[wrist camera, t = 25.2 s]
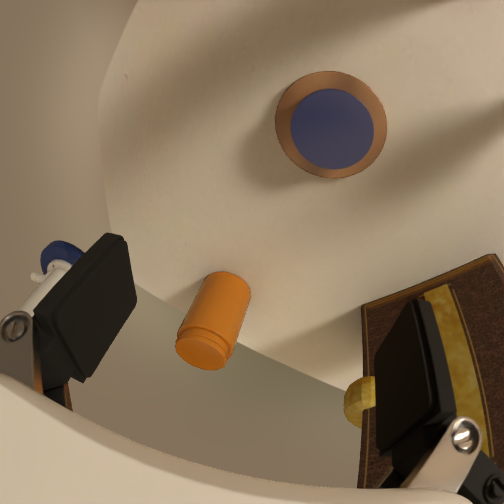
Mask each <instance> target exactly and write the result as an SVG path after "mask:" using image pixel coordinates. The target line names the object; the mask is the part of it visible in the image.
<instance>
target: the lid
mask: <svg viewBox="0 0 504 504" xmlns="http://www.w3.org/2000/svg"><path fill="white" fill-rule="evenodd" d="M291 135H292V139H293V142H294V144H295V146H296V148H297V149H298V151H299V152H300V153H301V155H302V156H303V157H304V158H305V159H307V160H308V161H309V162H311V163H313V164H314V165H317V166H319V167H322V168H326V169H343V168H347V167H350V166H352V165H354V164H356V163H357V162H359V161H360V160H361V159H362V158H363V157H364V156H365V155H366V154H367V152H368V151H369V149H370V147H371V145H372V142H373V137H374V126H373V121H372V118H371V115H370V113H369V112H368V110H367V108H366V107H365V106H364V104H363V103H362V102H361V101H360V100H358V99H357V98H356V97H354V96H353V95H351V94H350V93H348V92H345V91H343V90H339V89H332V88H327V89H321V90H317V91H315V92H312V93H311V94H309V95H307V96H306V97H305V98H304V99H303V100H302V101H301V102H300V103H299V105H298V106H297V107H296V109H295V111H294V113H293V116H292V120H291Z"/></svg>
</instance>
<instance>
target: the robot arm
mask: <svg viewBox="0 0 504 504" xmlns="http://www.w3.org/2000/svg"><path fill="white" fill-rule="evenodd" d="M31 279H32V281H34V282H36V283H39V284H40V285H39V286H38V287H37V288H36V289H35V290H34V291H33V293H32V294H31V295H30V296H29V297H28V298H27V299H26V300H25V301H24V303H23V304H22V305H21V306H20V307H19V308H18V310H17V311H14V312H12V313H10V314H8V315H7V316H5V317H4V318H3V319H2V320H1V322H0V504H504V472H503V471H502V470H501V469H500V468H499V467H498V466H497V465H496V464H495V463H494V462H493V461H492V460H491V459H490V458H489V457H488V456H487V455H486V454H485V453H484V452H483V451H482V450H481V446H482V438H483V437H482V432H481V429H480V427H479V425H478V424H477V423H476V422H475V420H473V419H472V418H470V417H467V416H460V417H457V413H456V412H457V408H456V402H455V397H454V391H453V386H452V381H451V376H450V372H449V367H448V363H447V358H446V354H445V350H444V346H443V343H442V339H441V335H440V331H439V328H438V324H437V321H436V318H435V314H434V311H433V308H432V305H431V303H430V302H429V301H425V300H420V299H413V300H412V301H411V302H407V303H406V304H405V306H404V308H403V309H402V311H401V313H400V315H399V316H398V318H397V320H396V321H395V323H394V325H393V326H392V328H391V329H390V331H389V333H388V334H387V336H386V337H385V339H384V341H383V342H382V344H381V345H380V347H379V348H378V350H377V351H376V353H375V357H374V375H375V401H376V448H377V449H379V457H392V466H391V467H390V468H389V469H388V470H387V472H386V473H385V474H384V475H383V476H382V477H381V478H380V479H379V481H378V482H377V483H376V484H375V485H374V486H373V487H372V488H371V489H358V488H335V487H321V486H309V485H300V484H291V483H285V482H278V481H271V480H266V479H260V478H255V477H250V476H245V475H240V474H236V473H232V472H227V471H223V470H219V469H215V468H211V467H208V466H204V465H201V464H197V463H194V462H191V461H188V460H184V459H181V458H178V457H175V456H172V455H169V454H166V453H164V452H160V451H158V450H155V449H153V448H150V447H147V446H145V445H142V444H140V443H137V442H135V441H133V440H130V439H128V438H125V437H123V436H121V435H118V434H116V433H114V432H112V431H110V430H108V429H105V428H103V427H101V426H99V425H97V424H95V423H93V422H91V421H89V420H87V419H85V418H84V417H82V416H80V415H78V414H76V413H74V412H73V410H72V405H71V399H70V393H69V388H68V381H69V379H70V377H72V378H74V379H76V380H78V381H79V382H82V383H84V381H85V380H86V378H87V377H91V376H92V374H93V373H94V371H95V370H96V368H97V366H98V365H99V363H100V361H101V359H102V358H103V356H104V355H105V353H106V351H107V350H108V348H109V347H110V345H111V344H112V342H113V340H114V339H115V337H116V336H117V334H118V333H119V331H120V329H121V328H122V326H123V324H124V323H125V322H126V320H127V319H128V317H129V316H130V314H131V312H132V311H133V309H134V308H135V306H136V303H137V296H136V291H135V286H134V281H133V275H132V270H131V264H130V258H129V252H128V245H127V242H126V241H124V238H123V237H122V236H121V235H116V234H112V233H105V234H104V235H103V236H102V237H101V238H100V239H99V240H98V241H97V242H96V243H95V244H94V245H93V246H92V247H91V248H90V249H89V250H88V251H87V252H86V253H85V254H84V255H83V256H82V257H81V258H80V259H79V260H78V261H77V262H76V263H75V264H74V265H71V264H70V263H68V262H66V261H64V260H60V259H55V260H53V261H52V262H50V263H49V265H48V267H47V274H46V275H40V274H38V273H36V272H33V273H32V274H31Z"/></svg>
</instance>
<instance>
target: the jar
mask: <svg viewBox="0 0 504 504" xmlns="http://www.w3.org/2000/svg"><path fill="white" fill-rule="evenodd" d="M250 299H251V292H250V289H249V287H248V285H247V284H246V283H245V282H244V281H243V280H242V279H241V278H239V277H238V276H236V275H234V274H231V273H228V272H215V273H212V274H210V275H208V276H207V277H206V278H205V280H204V282H203V284H202V286H201V287H200V289H199V291H198V293H197V295H196V297H195V299H194V301H193V303H192V305H191V307H190V309H189V311H188V312H187V314H186V317H185V318H184V320H183V322H182V324H181V326H180V328H179V330H178V332H177V340H176V345H175V347H176V351H177V353H178V355H179V356H180V357H181V358H182V359H183V360H184V361H186V362H187V363H189V364H191V365H192V366H195V367H197V368H200V369H204V370H218V369H220V368H223V367H224V366H225V365H226V362H227V359H229V358H230V357H231V355H232V353H233V350H234V347H235V344H236V341H237V338H238V335H239V332H240V329H241V326H242V323H243V320H244V317H245V314H246V311H247V308H248V305H249V302H250Z"/></svg>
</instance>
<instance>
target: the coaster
mask: <svg viewBox="0 0 504 504" xmlns="http://www.w3.org/2000/svg"><path fill="white" fill-rule="evenodd" d="M327 88H332V89H339V90H343V91H345V92H348V93H350V94H351V95H353V96H354V97H356V98H357V99H358V100H360V101H361V102H362V103H363V104H364V106H365V107H366V108H367V110H368V112H369V113H370V115H371V118H372V121H373V126H374V137H373V142H372V145H371V147H370V149H369V151H368V152H367V154H366V155H365V156H364V157H363V158H362V159H361V160H360V161H359V162H357V163H356V164H354V165H352V166H350V167H347V168H343V169H326V168H322V167H319V166H317V165H314V164H313V163H311V162H309V161H308V160H307V159H305V158H304V157H303V156H302V155H301V153H300V152H299V151H298V149H297V148H296V146H295V144H294V142H293V139H292V135H291V120H292V116H293V113H294V111H295V109H296V107H297V106H298V105H299V103H300V102H301V101H302V100H303V99H304V98H305V97H306V96H307V95H309V94H311V93H312V92H315V91H317V90H321V89H327ZM275 127H276V133H277V137H278V140H279V143H280V145H281V147H282V149H283V150H284V152H285V153H286V155H287V156H288V157H289V158H290V159H291V160H292V161H293V162H294V163H295V164H296V165H297V166H299V167H300V168H301V169H303V170H305V171H307V172H309V173H311V174H313V175H317V176H320V177H325V178H343V177H348V176H351V175H354V174H357V173H359V172H361V171H362V170H364V169H366V168H367V167H368V166H369V165H371V164H372V163H373V162H374V160H375V159H376V158H377V157H378V155H379V154H380V152H381V150H382V148H383V146H384V143H385V140H386V134H387V121H386V116H385V112H384V109H383V107H382V104H381V102H380V101H379V99H378V97H377V96H376V95H375V93H374V92H373V91H372V90H371V89H370V88H369V87H368V86H367V85H366V84H364V83H363V82H362V81H360V80H358V79H357V78H355V77H352V76H350V75H348V74H344V73H340V72H334V71H323V72H316V73H312V74H309V75H307V76H304V77H302V78H301V79H299V80H297V81H296V82H295V83H293V84H292V85H291V86H290V87H289V88H288V89H287V90H286V92H285V93H284V94H283V96H282V98H281V100H280V102H279V104H278V107H277V111H276V117H275Z"/></svg>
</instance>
